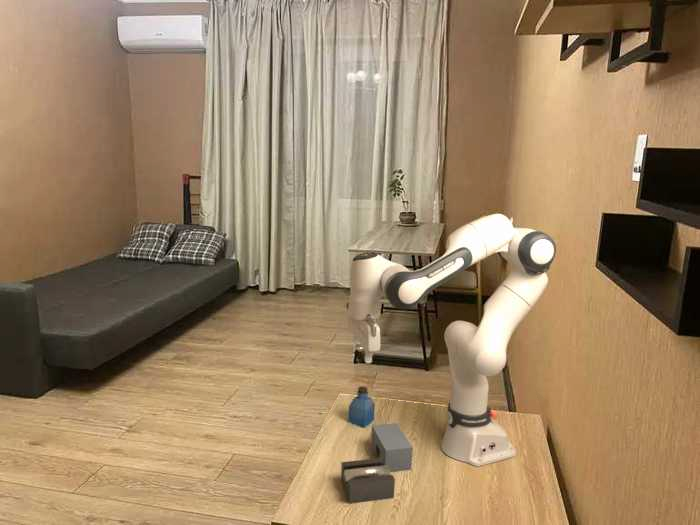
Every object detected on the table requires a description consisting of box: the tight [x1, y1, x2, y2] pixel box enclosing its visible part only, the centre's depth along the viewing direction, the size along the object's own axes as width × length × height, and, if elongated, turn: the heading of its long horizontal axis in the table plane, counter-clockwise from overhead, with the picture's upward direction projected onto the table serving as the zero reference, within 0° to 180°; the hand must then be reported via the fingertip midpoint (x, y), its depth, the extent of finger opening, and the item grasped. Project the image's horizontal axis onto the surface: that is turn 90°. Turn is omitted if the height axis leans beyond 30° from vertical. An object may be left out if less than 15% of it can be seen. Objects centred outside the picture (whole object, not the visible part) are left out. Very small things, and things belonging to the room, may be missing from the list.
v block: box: [340, 457, 396, 504], centre depth 140 cm, size 12×10×6 cm
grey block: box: [370, 422, 413, 473], centre depth 155 cm, size 8×14×7 cm, turn 14°
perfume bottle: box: [348, 386, 376, 429], centre depth 175 cm, size 6×6×12 cm
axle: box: [344, 465, 391, 482], centre depth 140 cm, size 12×3×3 cm, turn 104°
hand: (363, 355), depth 151 cm, fingers open, 8 cm apart
